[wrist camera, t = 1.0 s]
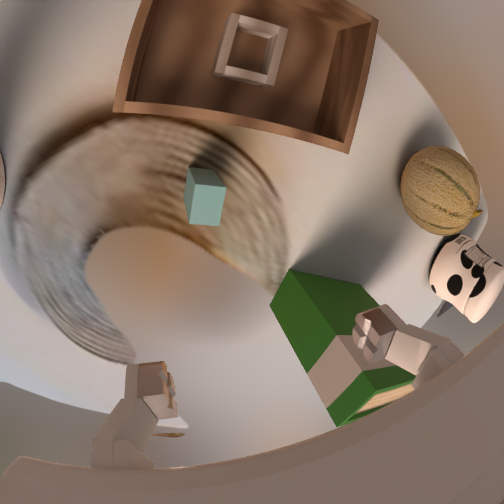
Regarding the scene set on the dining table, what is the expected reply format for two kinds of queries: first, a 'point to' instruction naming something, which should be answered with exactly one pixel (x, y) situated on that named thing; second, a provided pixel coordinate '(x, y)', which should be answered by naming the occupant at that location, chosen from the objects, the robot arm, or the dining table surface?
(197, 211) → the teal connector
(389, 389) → the hardback book
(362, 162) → the dining table surface
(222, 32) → the walled box
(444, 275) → the milk container
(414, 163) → the cantaloupe
